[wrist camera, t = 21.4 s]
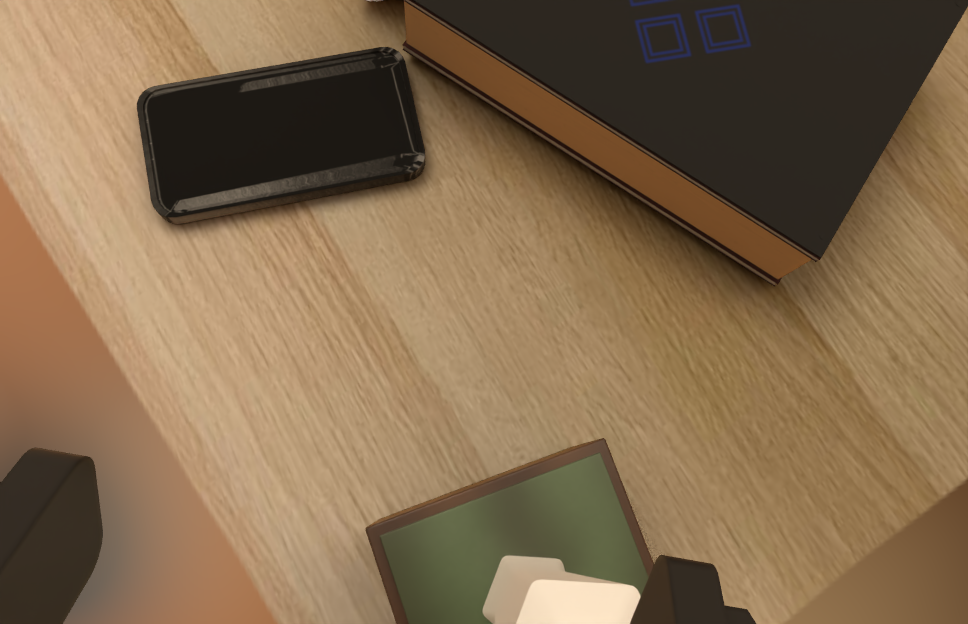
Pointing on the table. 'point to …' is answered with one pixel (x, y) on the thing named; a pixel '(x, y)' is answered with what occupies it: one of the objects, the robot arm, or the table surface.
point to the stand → (509, 535)
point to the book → (703, 100)
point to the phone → (279, 134)
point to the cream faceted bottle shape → (555, 595)
